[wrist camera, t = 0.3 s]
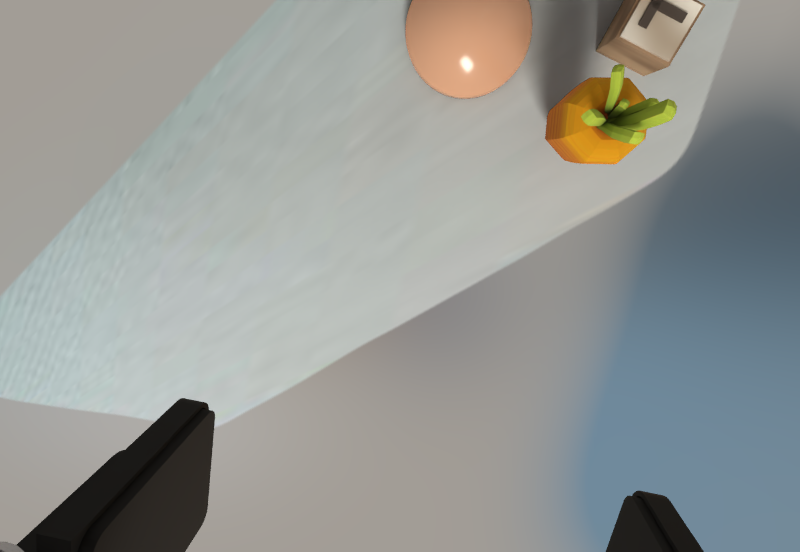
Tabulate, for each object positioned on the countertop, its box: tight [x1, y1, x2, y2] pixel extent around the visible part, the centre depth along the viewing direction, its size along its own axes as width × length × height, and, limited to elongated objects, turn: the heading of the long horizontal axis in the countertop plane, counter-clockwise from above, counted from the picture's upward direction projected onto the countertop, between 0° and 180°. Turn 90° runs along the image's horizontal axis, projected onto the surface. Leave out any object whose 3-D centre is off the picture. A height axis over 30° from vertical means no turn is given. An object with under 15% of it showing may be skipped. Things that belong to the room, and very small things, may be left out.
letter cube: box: [596, 0, 705, 76], centre depth 32 cm, size 4×4×4 cm
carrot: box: [545, 64, 677, 164], centre depth 29 cm, size 5×5×15 cm
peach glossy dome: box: [406, 0, 532, 99], centre depth 34 cm, size 9×9×1 cm
